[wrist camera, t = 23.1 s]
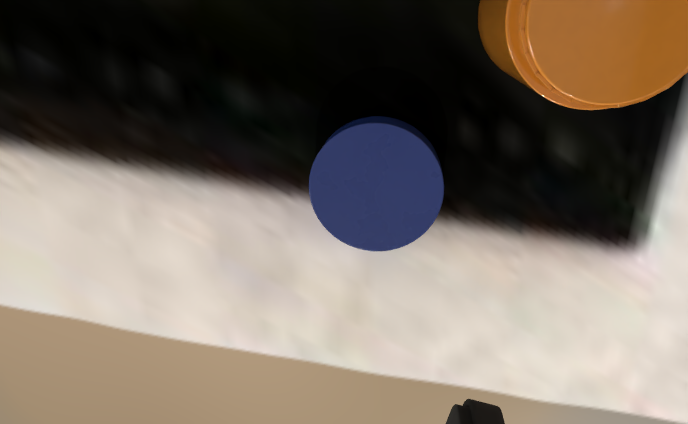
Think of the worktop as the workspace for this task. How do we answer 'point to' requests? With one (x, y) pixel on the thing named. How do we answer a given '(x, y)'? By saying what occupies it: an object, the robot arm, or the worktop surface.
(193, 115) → the worktop surface
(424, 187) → the lid
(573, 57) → the jar
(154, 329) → the worktop surface
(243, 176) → the worktop surface
